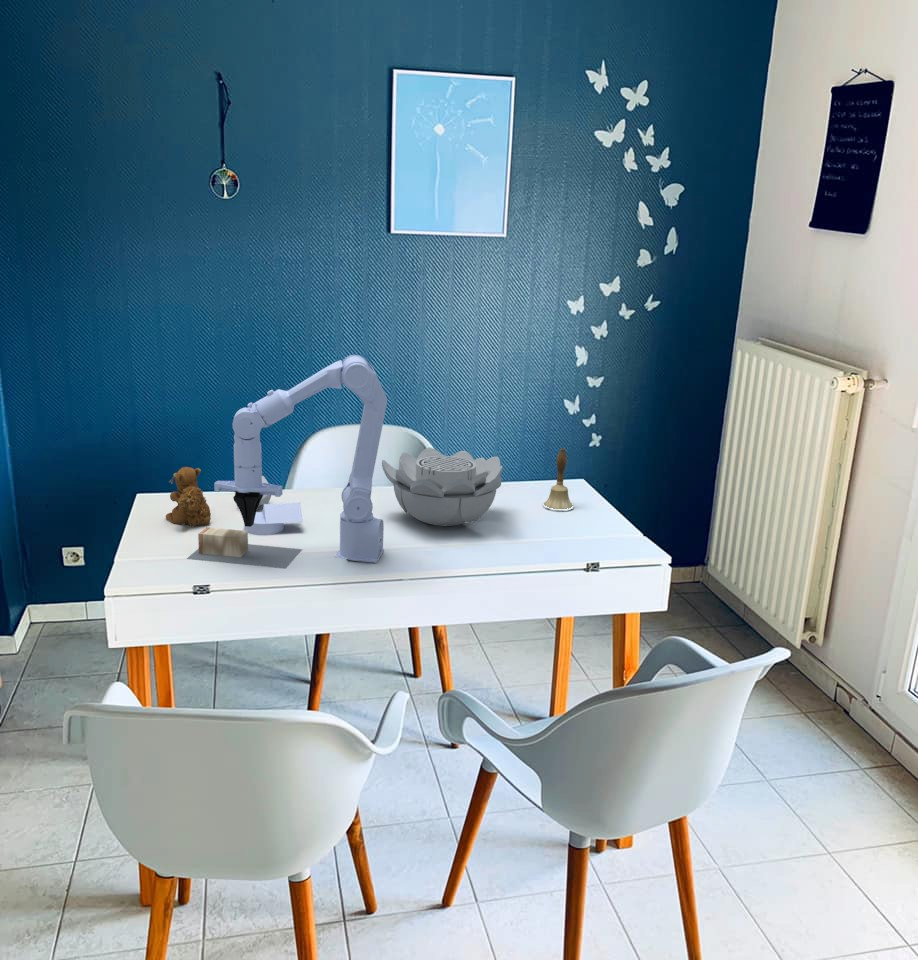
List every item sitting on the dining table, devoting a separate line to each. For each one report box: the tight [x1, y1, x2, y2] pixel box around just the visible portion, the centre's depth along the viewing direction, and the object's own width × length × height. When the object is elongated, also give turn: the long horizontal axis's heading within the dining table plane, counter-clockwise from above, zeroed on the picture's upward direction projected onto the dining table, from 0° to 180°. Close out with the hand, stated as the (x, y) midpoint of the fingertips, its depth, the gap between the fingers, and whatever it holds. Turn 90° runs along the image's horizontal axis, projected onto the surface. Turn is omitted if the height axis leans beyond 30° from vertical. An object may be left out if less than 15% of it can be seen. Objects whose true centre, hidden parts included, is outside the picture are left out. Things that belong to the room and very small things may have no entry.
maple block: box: [197, 526, 249, 557], centre depth 208 cm, size 4×4×10 cm
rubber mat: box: [186, 543, 303, 569], centre depth 208 cm, size 22×12×1 cm, turn 82°
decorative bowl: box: [381, 447, 503, 527], centre depth 236 cm, size 30×30×15 cm
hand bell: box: [543, 448, 574, 509], centre depth 251 cm, size 8×8×16 cm
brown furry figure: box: [165, 466, 212, 528], centre depth 227 cm, size 10×14×13 cm
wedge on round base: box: [244, 502, 304, 536], centre depth 224 cm, size 9×7×13 cm
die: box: [257, 475, 272, 510], centre depth 241 cm, size 8×9×10 cm
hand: (249, 525), depth 206 cm, fingers closed
